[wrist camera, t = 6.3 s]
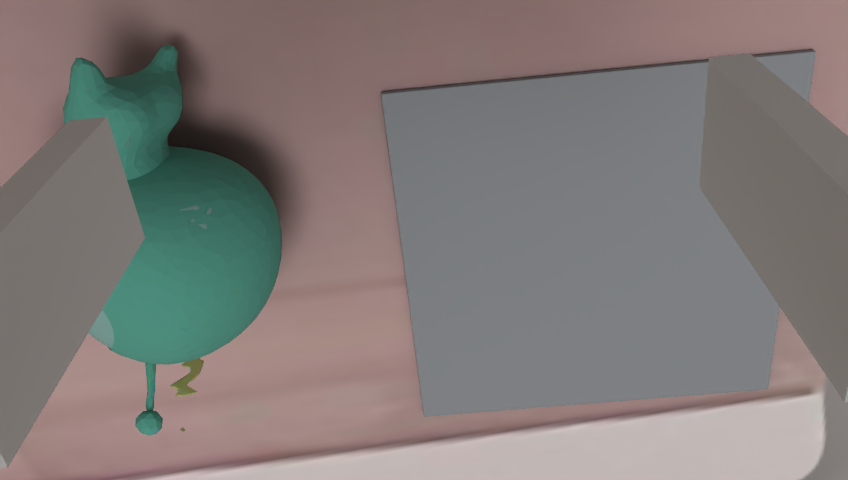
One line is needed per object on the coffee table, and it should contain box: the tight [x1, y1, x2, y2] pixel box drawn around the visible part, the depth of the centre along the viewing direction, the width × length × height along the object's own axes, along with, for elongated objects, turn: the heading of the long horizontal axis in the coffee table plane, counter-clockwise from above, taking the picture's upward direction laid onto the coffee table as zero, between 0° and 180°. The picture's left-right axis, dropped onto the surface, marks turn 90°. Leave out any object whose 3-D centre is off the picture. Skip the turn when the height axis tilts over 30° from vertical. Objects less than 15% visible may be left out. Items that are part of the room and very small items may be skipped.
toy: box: [63, 45, 282, 435], centre depth 33 cm, size 10×10×15 cm
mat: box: [381, 49, 816, 416], centre depth 38 cm, size 18×18×1 cm
